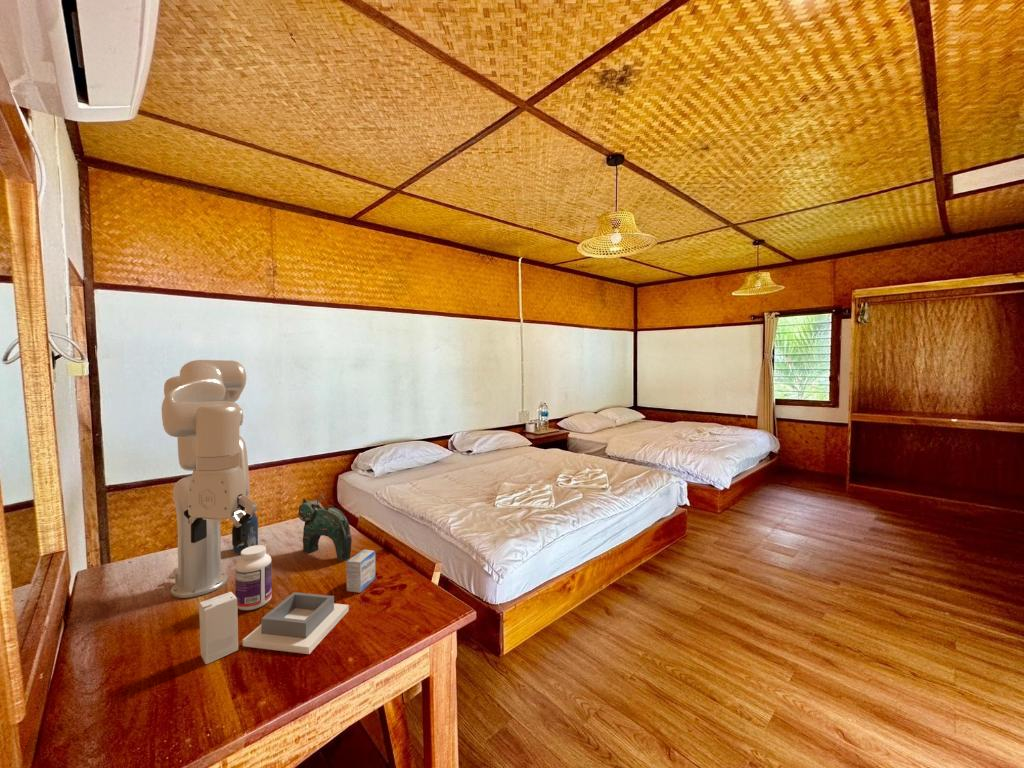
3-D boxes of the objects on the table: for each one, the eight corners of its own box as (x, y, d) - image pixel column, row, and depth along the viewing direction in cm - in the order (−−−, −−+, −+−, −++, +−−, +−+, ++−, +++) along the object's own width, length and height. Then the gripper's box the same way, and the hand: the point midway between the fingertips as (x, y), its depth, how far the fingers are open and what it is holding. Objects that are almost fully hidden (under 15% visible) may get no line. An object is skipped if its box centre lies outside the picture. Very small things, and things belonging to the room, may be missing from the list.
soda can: (240, 546, 139) (240, 511, 138) (261, 545, 140) (261, 511, 139) (228, 555, 132) (228, 519, 131) (251, 554, 133) (251, 518, 132)
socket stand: (242, 646, 89) (242, 624, 89) (291, 604, 105) (291, 586, 105) (309, 654, 87) (309, 631, 87) (348, 610, 103) (348, 591, 103)
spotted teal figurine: (296, 552, 135) (296, 493, 134) (312, 545, 141) (312, 488, 140) (341, 564, 127) (341, 502, 126) (356, 556, 133) (356, 496, 132)
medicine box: (360, 593, 111) (360, 562, 111) (346, 591, 112) (346, 561, 112) (375, 579, 119) (375, 550, 118) (362, 577, 120) (362, 548, 119)
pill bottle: (259, 592, 111) (259, 540, 110) (278, 599, 107) (278, 546, 107) (228, 607, 104) (228, 552, 103) (247, 616, 100) (247, 559, 100)
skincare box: (232, 642, 91) (232, 589, 90) (239, 651, 88) (238, 597, 87) (198, 656, 86) (198, 601, 85) (204, 667, 83) (203, 609, 83)
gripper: (165, 464, 83) (166, 546, 83) (241, 468, 81) (241, 552, 81) (198, 457, 90) (199, 532, 91) (268, 460, 88) (268, 537, 89)
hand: (219, 541), depth 86 cm, fingers open, 9 cm apart
